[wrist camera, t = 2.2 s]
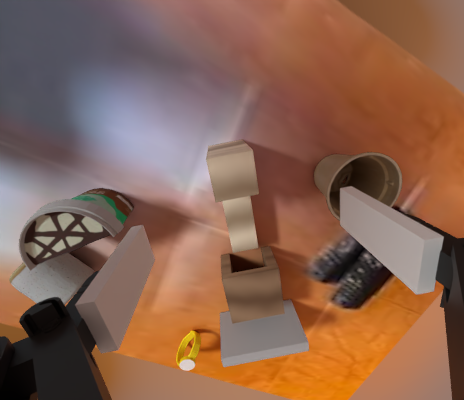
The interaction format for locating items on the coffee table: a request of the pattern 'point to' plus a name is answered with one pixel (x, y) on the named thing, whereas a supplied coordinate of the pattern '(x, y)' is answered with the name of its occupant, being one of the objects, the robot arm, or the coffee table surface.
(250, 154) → the cream l-shaped piece
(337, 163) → the flower pot
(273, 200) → the coffee table surface
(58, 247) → the half-round slice
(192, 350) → the watch
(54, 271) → the ceramic mug
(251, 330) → the wall
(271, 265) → the block
